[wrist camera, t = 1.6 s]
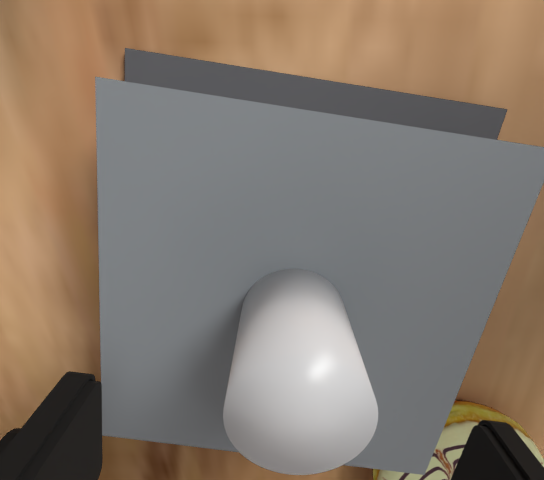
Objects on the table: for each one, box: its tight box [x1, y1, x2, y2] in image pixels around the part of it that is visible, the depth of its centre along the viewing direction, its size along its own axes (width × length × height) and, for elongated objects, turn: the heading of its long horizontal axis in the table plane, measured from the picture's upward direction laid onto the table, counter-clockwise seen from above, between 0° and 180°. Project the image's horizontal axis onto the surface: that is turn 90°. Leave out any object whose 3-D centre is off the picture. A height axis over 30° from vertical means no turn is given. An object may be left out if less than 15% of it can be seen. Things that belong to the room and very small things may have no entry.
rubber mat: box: [125, 48, 507, 140], centre depth 20 cm, size 18×18×1 cm
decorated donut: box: [373, 400, 544, 480], centre depth 23 cm, size 10×11×4 cm
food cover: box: [95, 77, 544, 475], centre depth 14 cm, size 15×15×11 cm
